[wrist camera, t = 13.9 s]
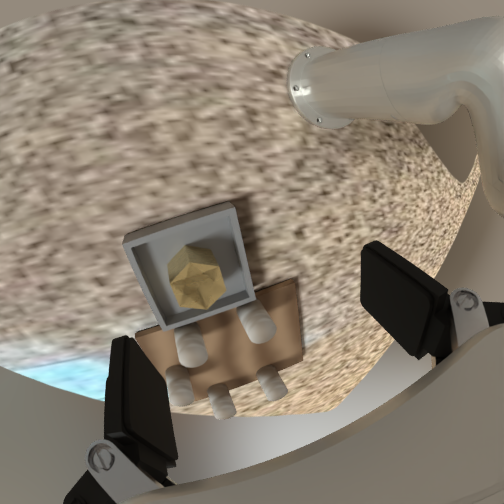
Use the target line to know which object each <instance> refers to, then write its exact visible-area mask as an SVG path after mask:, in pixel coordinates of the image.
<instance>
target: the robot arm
mask: <svg viewBox="0 0 504 504" xmlns="http://www.w3.org/2000/svg"><path fill="white" fill-rule="evenodd" d="M287 88H288V93H289V96H290V99H291V101H292V103H293V105H294V107H295V109H296V110H297V111H298V112H299V114H300V115H301V116H302V117H303V118H304V119H305V120H307V121H308V122H310V123H311V124H313V125H315V126H317V127H320V128H325V129H339V128H342V127H345V126H347V125H349V124H350V123H352V122H353V121H354V120H355V119H369V120H385V121H397V122H407V123H415V124H424V125H434V124H439V123H442V122H444V121H445V120H447V119H449V118H450V117H451V116H452V115H453V114H454V113H455V112H456V111H457V110H458V109H459V107H460V106H461V105H464V106H465V107H466V108H467V110H468V112H469V115H470V118H471V122H472V126H473V129H474V133H475V138H476V145H477V151H478V158H479V165H480V172H481V179H482V185H483V190H484V193H485V196H486V198H487V200H488V202H489V204H490V206H491V207H492V208H493V209H494V211H495V212H496V213H497V214H499V215H500V216H501V217H503V218H504V17H502V16H492V17H482V18H477V19H473V20H468V21H464V22H459V23H455V24H451V25H446V26H442V27H437V28H432V29H427V30H422V31H416V32H411V33H405V34H400V35H394V36H390V37H386V38H381V39H377V40H373V41H368V42H364V43H360V44H357V45H353V46H349V47H346V48H343V49H339V50H335V49H332V48H329V47H323V46H318V47H312V48H308V49H306V50H304V51H302V52H301V53H299V54H298V55H297V56H296V57H295V58H294V59H293V61H292V62H291V64H290V66H289V69H288V73H287ZM293 88H294V89H293ZM447 292H448V289H447V288H445V287H444V286H443V285H441V284H440V283H439V282H437V281H436V280H435V279H433V278H432V277H430V276H429V275H428V274H426V273H425V272H423V271H422V270H421V269H419V268H418V267H416V266H415V265H414V264H412V263H411V262H409V261H408V260H406V259H405V258H403V257H402V256H400V255H399V254H397V253H396V252H394V251H393V250H391V249H390V248H388V247H387V246H385V245H384V244H382V243H381V242H379V241H377V240H376V241H373V242H370V243H368V244H366V245H364V247H363V250H362V251H361V290H360V301H361V304H362V306H363V307H364V309H365V310H366V311H367V312H368V313H369V314H370V315H371V316H372V317H373V318H374V319H375V320H376V321H377V322H378V323H379V324H380V325H381V326H382V327H383V328H384V329H385V330H386V331H387V332H388V333H389V334H390V335H391V336H392V337H393V338H394V339H395V340H396V341H397V342H398V343H399V344H400V345H401V346H402V347H403V348H404V349H405V350H406V351H407V353H408V354H409V355H411V356H415V357H416V358H417V359H418V360H420V359H421V358H422V357H423V356H425V355H426V354H427V353H429V354H431V356H432V370H430V371H429V372H428V373H427V374H426V375H424V376H423V377H421V378H420V379H419V380H418V381H416V382H415V383H414V384H412V385H411V386H409V387H408V388H407V389H405V390H404V391H402V392H401V393H399V394H398V395H396V396H395V397H393V398H392V399H390V400H389V401H387V402H386V403H384V404H383V405H381V406H379V407H378V408H376V409H375V410H373V411H371V412H370V413H368V414H366V415H365V416H363V417H361V418H359V419H358V420H356V421H354V422H352V423H351V424H349V425H347V426H345V427H343V428H341V429H340V430H338V431H336V432H333V433H331V434H329V435H327V436H325V437H323V438H322V439H319V440H317V441H315V442H313V443H310V444H308V445H306V446H304V447H301V448H299V449H297V450H294V451H292V452H289V453H287V454H284V455H282V456H279V457H276V458H274V459H271V460H269V461H265V462H263V463H259V464H256V465H254V466H250V467H247V468H244V469H241V470H237V471H233V472H230V473H226V474H223V475H219V476H215V477H211V478H207V479H203V480H198V481H194V482H189V483H184V484H177V483H176V482H174V481H173V480H172V479H170V478H169V477H168V476H167V475H168V473H167V468H173V467H176V462H175V460H177V459H178V453H177V448H176V442H175V437H174V431H173V425H172V419H171V412H170V406H169V398H168V391H167V384H166V382H165V379H164V378H163V377H162V375H161V374H160V373H159V372H158V370H157V369H156V368H155V366H154V365H153V364H152V363H151V361H150V360H149V359H148V357H147V356H146V355H145V353H144V352H143V350H142V349H141V348H140V346H139V345H138V344H137V342H136V341H135V339H134V338H132V337H131V338H129V337H128V336H127V335H125V336H122V337H119V338H115V339H113V340H112V345H111V354H110V364H109V376H108V378H107V380H106V390H105V410H104V411H105V412H104V439H101V440H97V441H94V442H93V443H92V444H90V446H89V447H88V448H87V450H86V453H85V464H86V467H87V468H88V470H87V471H86V472H85V474H84V475H83V476H82V477H81V478H80V479H79V481H78V482H77V483H76V484H75V486H74V487H73V488H72V489H71V491H70V492H69V493H68V494H67V495H66V497H65V499H64V502H63V504H504V303H500V302H482V300H481V298H480V296H479V295H478V294H477V293H476V292H475V291H473V290H471V289H468V288H457V289H455V290H454V291H453V292H452V293H451V295H449V294H447Z"/></svg>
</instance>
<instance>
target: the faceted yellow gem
mask: <svg viewBox="0 0 504 504" xmlns="http://www.w3.org/2000/svg"><path fill="white" fill-rule="evenodd" d="M167 267H168V275H169V282H170V286H171V288H172V290H173V293H174V295H175V297H176V300H177V302H178V304H179V306H180V307H185V308H195V309H206V310H207V309H208V308H209V307H210V306H211V305H212V304H213V303H214V302H215V301H216V300H217V299H218V298H220V297H221V296H222V295H223V294H224V293H225V292H226V291H227V290H226V287H225V284H224V281H223V277H222V274H221V271H220V267H219V265H218V263H217V261H216V259H215V257H214V255H213V253H212V251H211V249H206V248H200V247H194V246H188V245H184V246H183V247H182V249H181V250H180V251H179V252H178V253H177V254H176V255H175V256H174V257H173V258H172V259H171V260H170V262H169V263H168V264H167Z"/></svg>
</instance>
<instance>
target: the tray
mask: <svg viewBox="0 0 504 504" xmlns="http://www.w3.org/2000/svg"><path fill="white" fill-rule="evenodd" d="M122 245H123V247H124V250H125V252H126V255H127V257H128V259H129V262H130V264H131V266H132V269H133V271H134V273H135V275H136V278H137V280H138V282H139V284H140V286H141V288H142V291H143V293H144V295H145V297H146V299H147V301H148V303H149V305H150V307H151V309H152V311H153V313H154V315H155V317H156V319H157V321H158V323H159V325H160V327H161V329H162V330H163V332H165V331H168V330H171V329H174V328H177V327H180V326H183V325H186V324H189V323H192V322H195V321H198V320H201V319H204V318H207V317H210V316H212V315H215V314H218V313H221V312H224V311H227V310H229V309H232V308H235V307H238V306H241V305H243V304H246V303H249V302H251V301H254V300H256V297H255V293H254V288H253V284H252V280H251V275H250V271H249V267H248V262H247V258H246V253H245V249H244V245H243V240H242V236H241V231H240V227H239V222H238V218H237V213H236V209H235V207H234V206H233V205H232V204H231V203H230V202H229V201H227V202H224V203H221V204H217V205H214V206H211V207H208V208H204V209H201V210H198V211H195V212H192V213H188V214H185V215H182V216H179V217H176V218H173V219H170V220H167V221H164V222H161V223H158V224H155V225H152V226H149V227H146V228H144V229H141V230H138V231H135V232H132V233H129V234H127V235H125V236H124V240H123V243H122ZM184 245H188V246H194V247H200V248H206V249H211V251H212V253H213V255H214V257H215V259H216V261H217V263H218V265H219V267H220V271H221V274H222V277H223V281H224V284H225V287H226V290H227V291H226V292H225V293H224V294H223V295H222V296H221V297H220V298H218V299H217V300H216V301H215V302H214V303H213V304H212V305H211V306H210V307H209V308H208V309H207V310H206V309H195V308H185V307H180V306H179V304H178V302H177V300H176V297H175V295H174V293H173V290H172V288H171V286H170V282H169V275H168V267H167V264H168V263H169V262H170V260H171V259H172V258H173V257H174V256H175V255H176V254H177V253H178V252H179V251H180V250H181V249H182V247H183V246H184Z"/></svg>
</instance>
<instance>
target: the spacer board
mask: <svg viewBox="0 0 504 504" xmlns="http://www.w3.org/2000/svg"><path fill="white" fill-rule="evenodd" d="M255 297H256V300H254V301H251V302H249V303H246V304H243V305H241V306H238V307H235V308H232V309H229V310H227V311H224V312H221V313H218V314H215V315H212V316H210V317H207V318H204V319H201V320H198V321H195V322H192V323H189V324H186V325H183V326H180V327H177V328H174V329H171V330H168V331H165V332H163V330H162V329H161V327H160V325H159V326H156V327H153V328H150V329H147V330H144V331H140V332H137V333H135V339H136V340H137V342H138V344H139V345H140V347H141V348H142V350H143V351H144V353H145V354H146V356H147V357H148V359H149V360H150V361H151V363H152V364H153V365H154V366H155V368H156V369H157V370H158V372H159V373H160V374H161V375H162V377H163V378H164V379H165V382H166V384H167V388H168V394H169V399H170V403H171V404H173V405H175V406H187V405H190V404H191V403H193V402H194V401H198V400H201V399H204V398H207V397H209V400H210V403H211V406H212V409H213V412H214V415H215V418H217V419H220V420H223V419H228V418H231V417H233V416H234V415H235V414H236V409H235V406H234V404H233V401H232V398H231V396H230V393H229V390H231V389H234V388H237V387H240V386H242V385H245V384H248V383H250V382H253V381H256V380H258V381H259V383H260V385H261V387H262V389H263V391H264V393H265V395H266V397H267V399H268V400H269V401H276V400H279V399H281V398H283V397H284V396H285V395H286V394H287V392H288V389H287V388H286V386H285V384H284V382H283V381H282V379H281V377H280V375H279V374H278V371H280V370H283V369H285V368H287V367H290V366H292V365H294V364H297V363H299V362H301V361H303V354H302V343H301V333H300V323H299V313H298V304H297V295H296V287H295V282H294V281H293V280H292V279H290V280H287V281H284V282H282V283H279V284H277V285H274V286H271V287H269V288H266V289H263V290H260V291H258V292H255Z"/></svg>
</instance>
